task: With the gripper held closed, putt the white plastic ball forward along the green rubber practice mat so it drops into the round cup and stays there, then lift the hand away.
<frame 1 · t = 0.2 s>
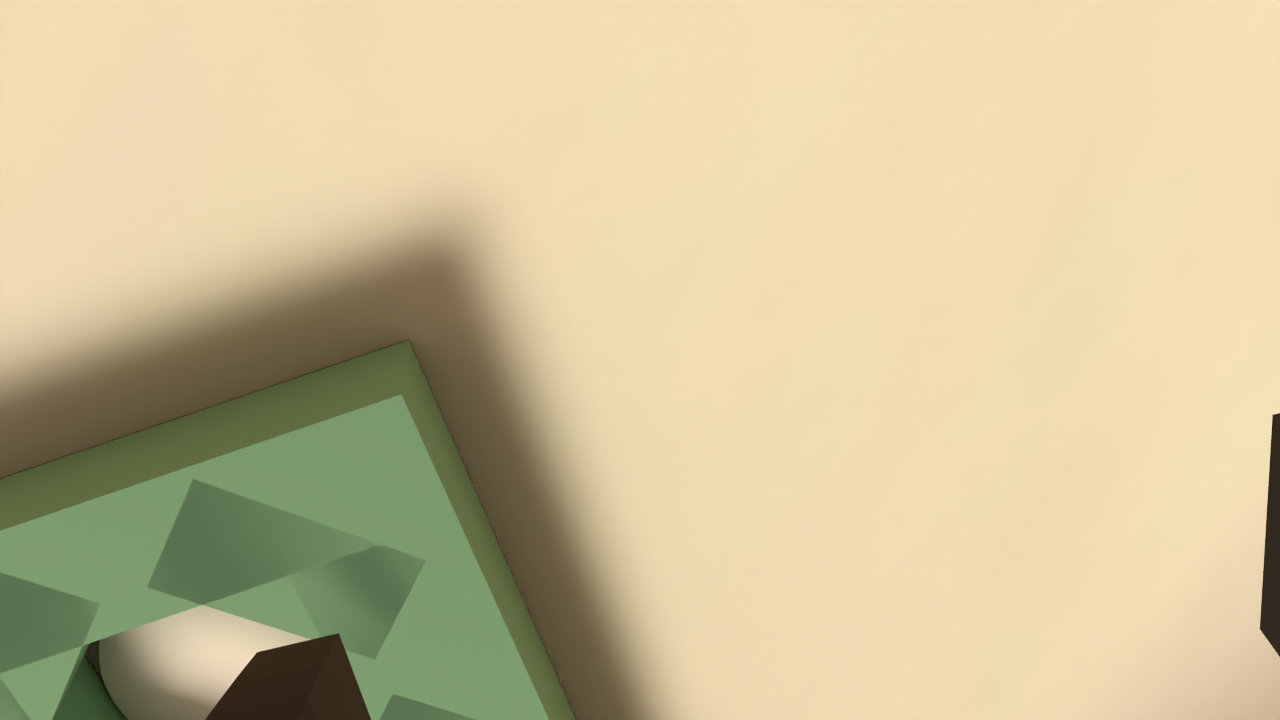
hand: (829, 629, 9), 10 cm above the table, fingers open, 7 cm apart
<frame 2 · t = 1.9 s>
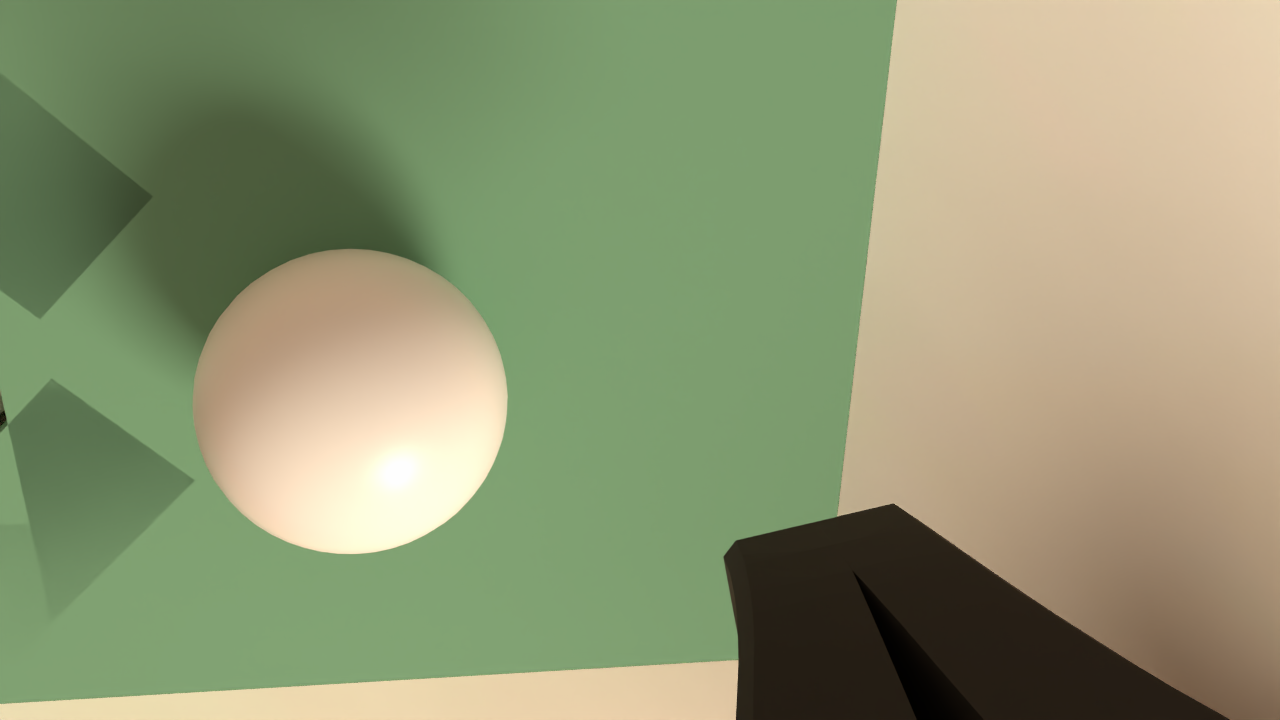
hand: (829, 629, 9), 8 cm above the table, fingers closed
ball: (355, 400, 12), point 4 cm above the table, touching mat
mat: (188, 287, 15), on the table
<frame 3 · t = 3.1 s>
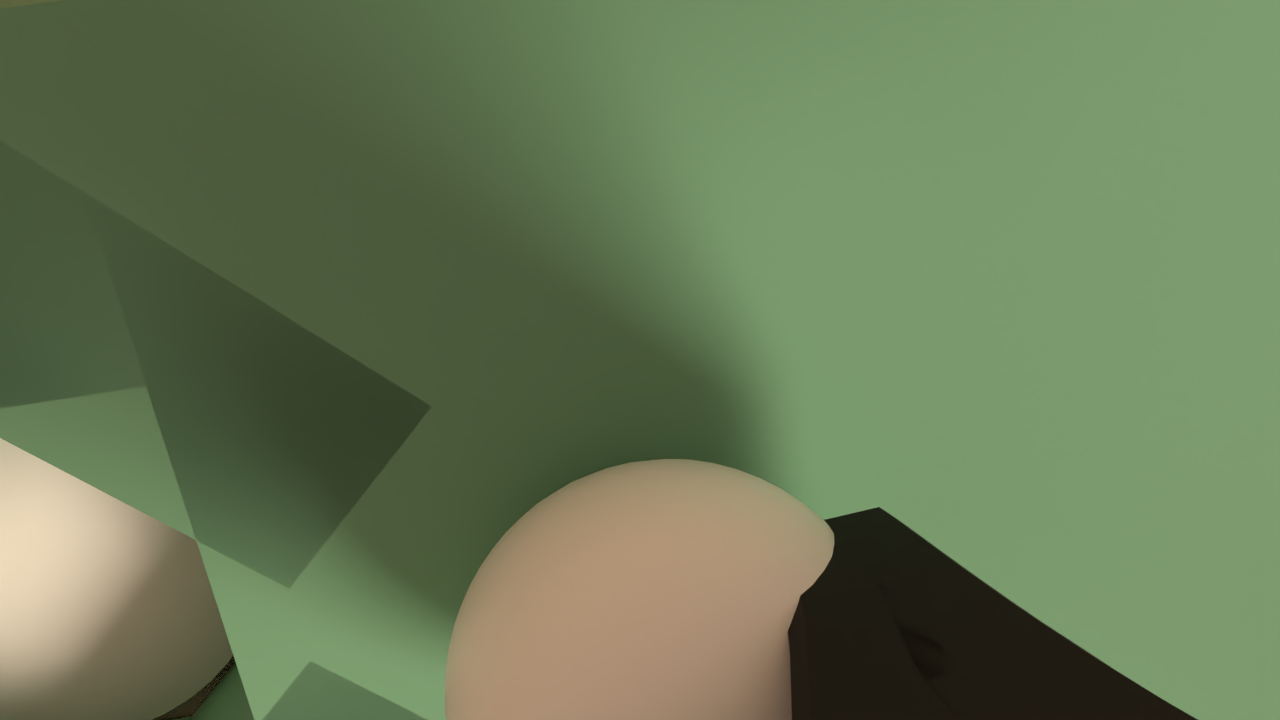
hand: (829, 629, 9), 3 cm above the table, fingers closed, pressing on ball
ball: (670, 682, 8), point 4 cm above the table, tilted 27°, touching gripper, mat
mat: (441, 482, 11), on the table
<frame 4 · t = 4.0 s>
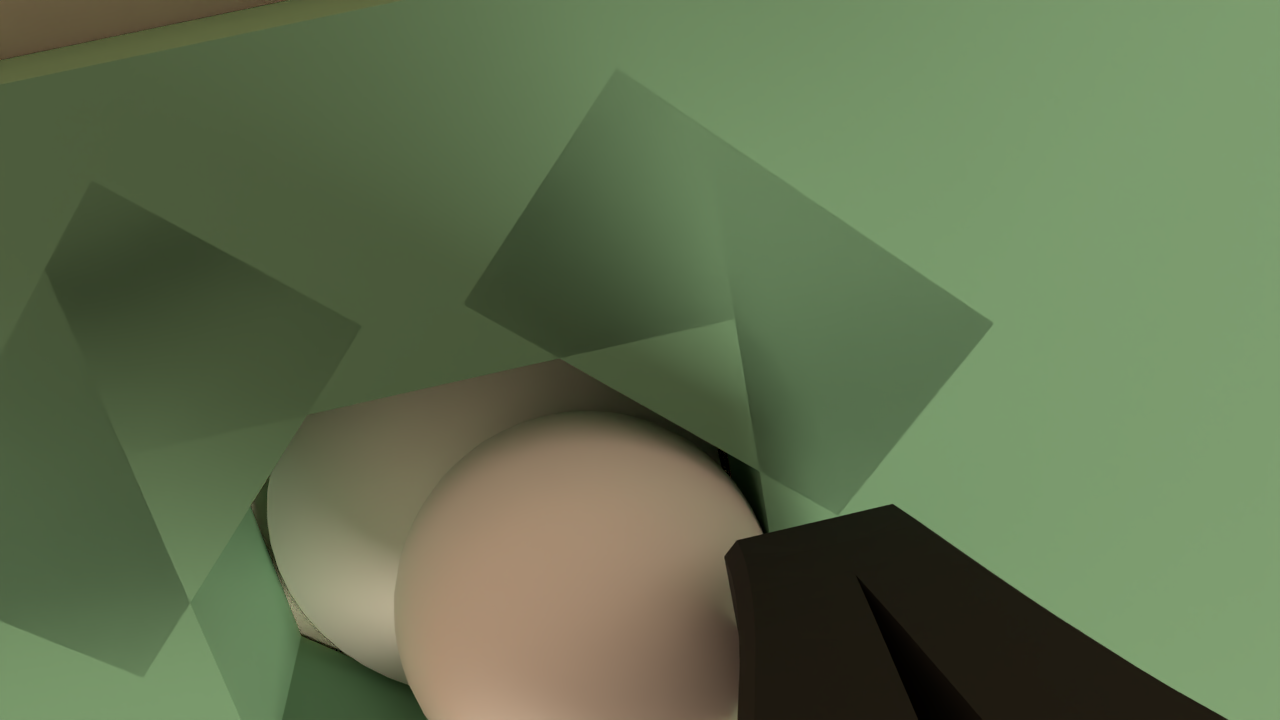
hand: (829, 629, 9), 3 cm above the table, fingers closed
ball: (586, 599, 10), point 2 cm above the table, tilted 174°, touching gripper, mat
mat: (891, 416, 11), on the table
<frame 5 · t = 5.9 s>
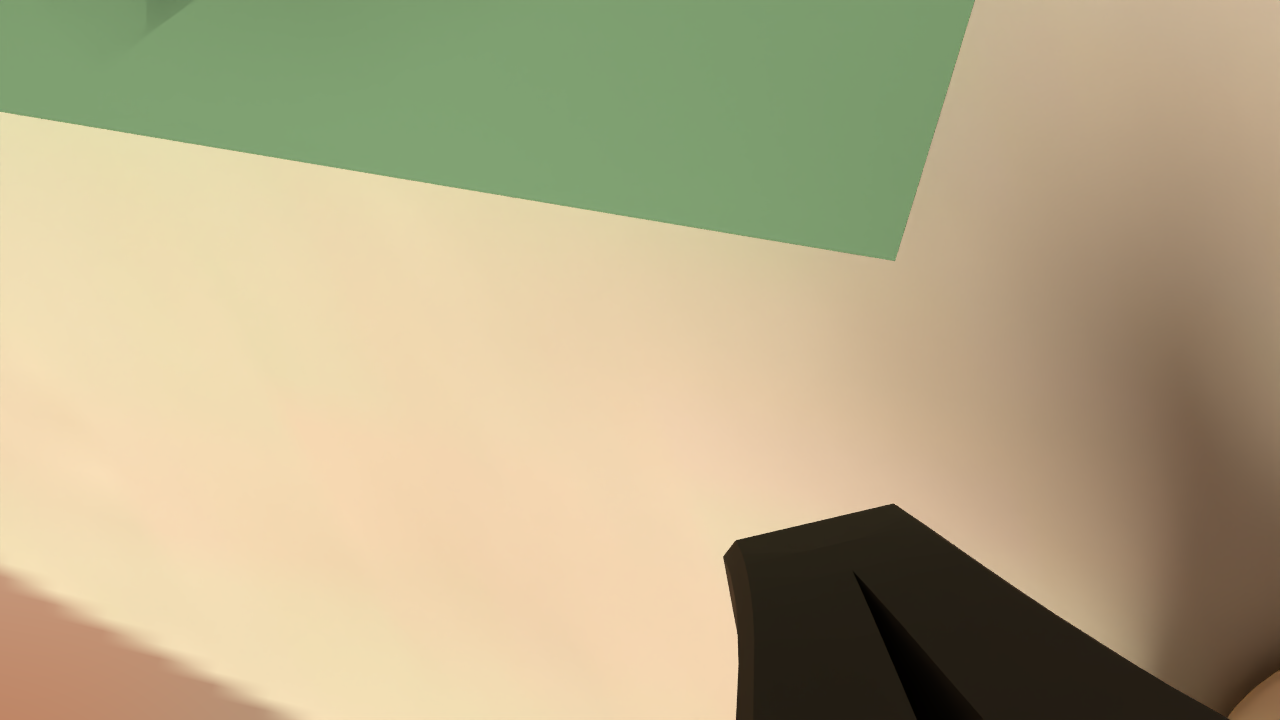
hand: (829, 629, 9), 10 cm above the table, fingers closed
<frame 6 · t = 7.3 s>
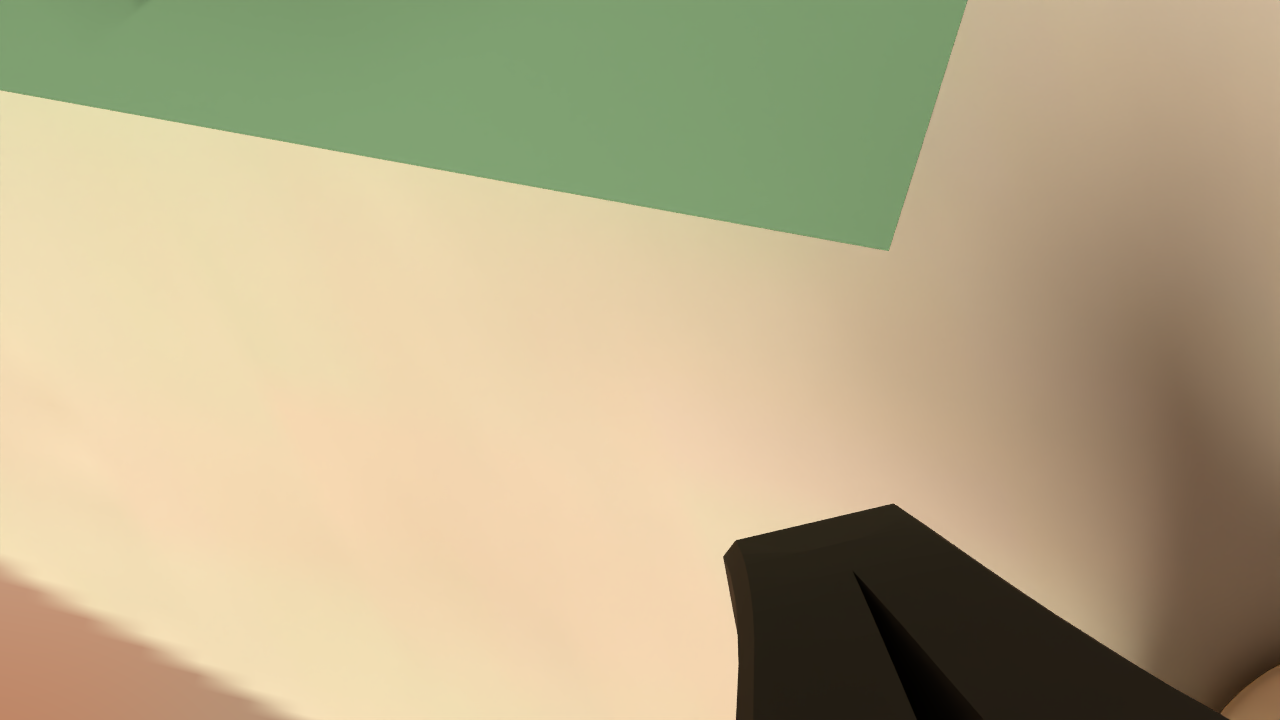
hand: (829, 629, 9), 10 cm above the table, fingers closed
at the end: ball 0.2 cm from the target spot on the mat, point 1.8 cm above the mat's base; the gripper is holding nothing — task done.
